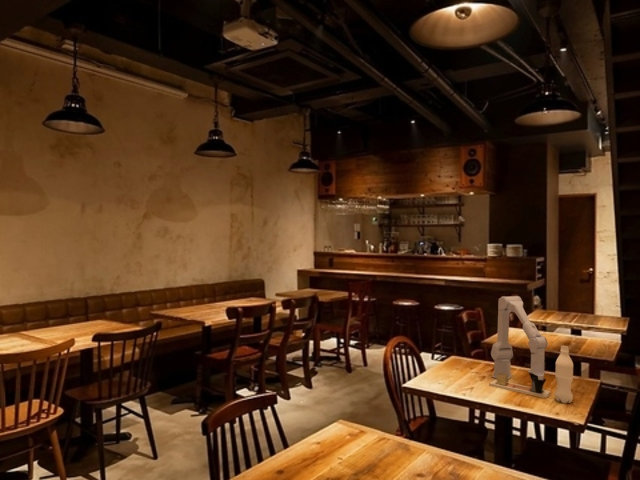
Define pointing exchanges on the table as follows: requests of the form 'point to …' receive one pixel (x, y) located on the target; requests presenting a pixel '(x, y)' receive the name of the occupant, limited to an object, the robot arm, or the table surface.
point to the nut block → (534, 387)
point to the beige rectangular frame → (520, 389)
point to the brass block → (502, 379)
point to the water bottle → (564, 376)
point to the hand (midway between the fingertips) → (537, 390)
